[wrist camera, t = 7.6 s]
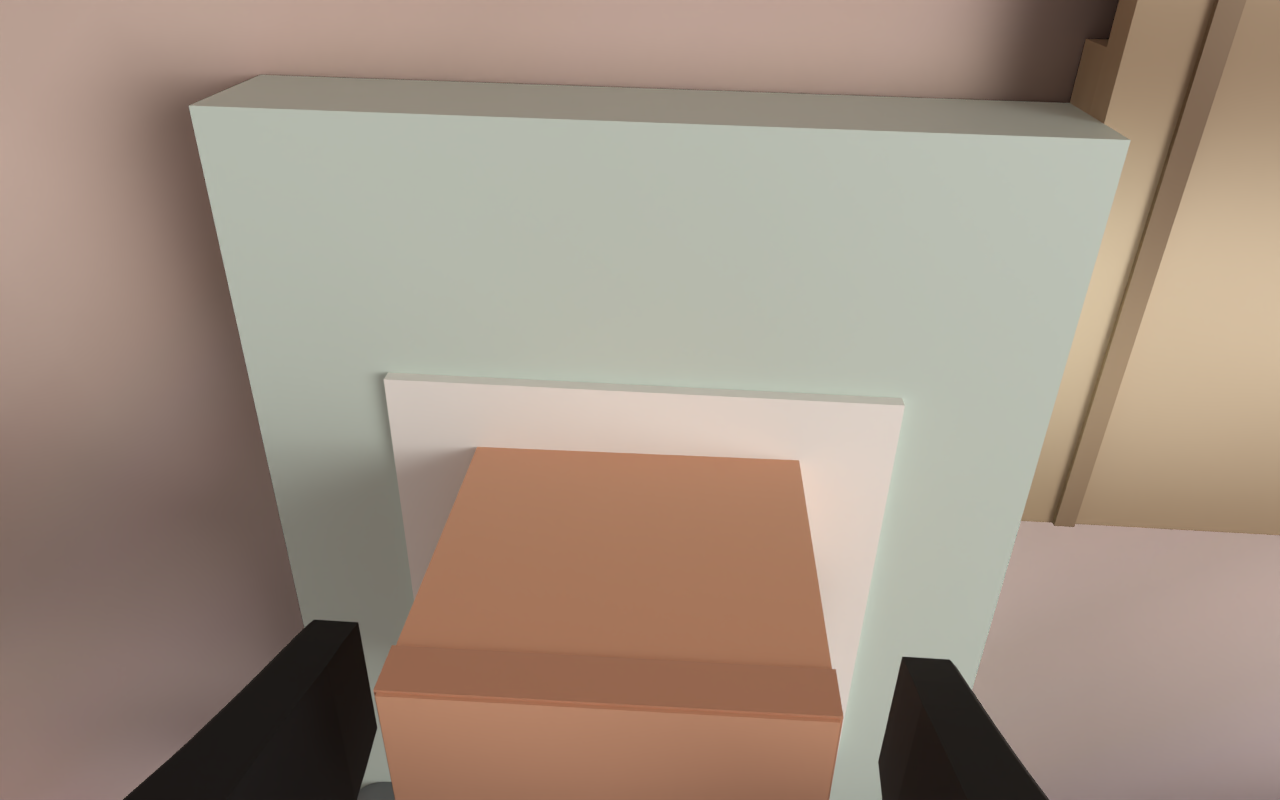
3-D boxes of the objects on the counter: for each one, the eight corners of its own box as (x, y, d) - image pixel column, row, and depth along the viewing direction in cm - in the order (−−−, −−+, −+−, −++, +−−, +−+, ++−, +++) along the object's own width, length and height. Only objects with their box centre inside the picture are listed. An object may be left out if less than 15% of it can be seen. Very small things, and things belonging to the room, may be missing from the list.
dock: (897, 789, 19) (954, 1057, 15) (382, 753, 19) (289, 1001, 15) (1070, 102, 12) (1273, 227, 8) (260, 75, 13) (23, 176, 8)
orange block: (774, 692, 15) (798, 984, 11) (497, 676, 15) (424, 956, 11) (800, 458, 12) (844, 720, 9) (475, 444, 13) (372, 693, 9)
